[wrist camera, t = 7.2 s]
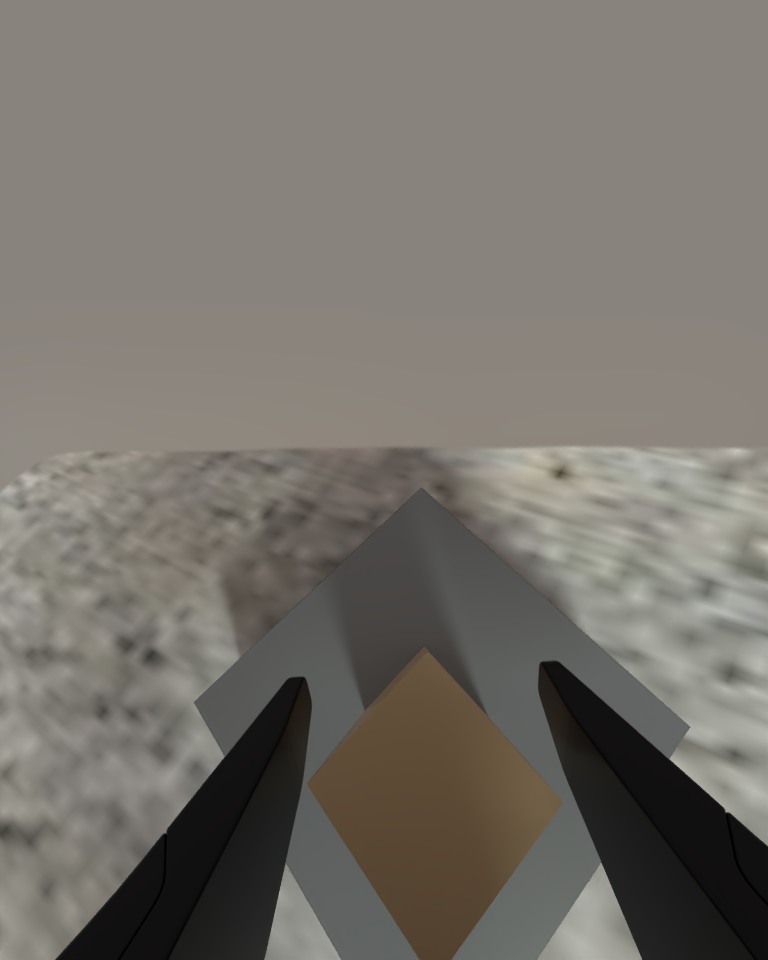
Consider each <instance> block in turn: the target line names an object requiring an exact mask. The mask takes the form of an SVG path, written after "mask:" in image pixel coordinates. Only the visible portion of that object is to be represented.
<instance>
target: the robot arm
mask: <svg viewBox="0 0 768 960" xmlns="http://www.w3.org/2000/svg"><path fill="white" fill-rule="evenodd" d="M538 692H539V696H540V700H541V703H542V706H543V709H544V712H545V715H546V719H547V722H548V725H549V728H550V731H551V734H552V738H553V741H554V744H555V747H556V750H557V753H558V756H559V760H560V763H561V766H562V769H563V771H564V774H565V777H566V779H567V782H568V784H569V787H570V789H571V791H572V794H573V796H574V798H575V801H576V803H577V806H578V808H579V810H580V813H581V815H582V817H583V820H584V822H585V825H586V827H587V829H588V832H589V834H590V836H591V839H592V841H593V844H594V846H595V848H596V851H597V853H598V855H599V858H600V860H601V863H602V865H603V867H604V870H605V872H606V874H607V877H608V879H609V882H610V884H611V886H612V889H613V891H614V893H615V896H616V898H617V901H618V903H619V905H620V908H621V910H622V912H623V915H624V917H625V920H626V922H627V924H628V927H629V929H630V931H631V934H632V936H633V939H634V941H635V943H636V946H637V948H638V950H639V953H640V955H641V958H642V960H768V846H767V845H766V844H765V843H764V842H762V841H761V840H760V839H759V838H758V837H757V836H755V835H754V834H753V833H752V832H751V831H750V830H749V829H747V828H746V827H745V826H744V825H743V824H742V823H741V822H740V821H738V820H737V819H736V818H735V817H734V816H733V815H732V814H731V813H729V812H727V813H726V812H725V809H724V807H722V806H721V805H720V804H719V803H718V802H717V801H716V800H715V799H713V798H712V797H711V796H710V795H709V794H708V793H707V792H706V791H704V790H703V789H702V788H701V787H700V786H699V785H698V784H697V783H695V782H694V781H693V780H692V779H691V778H690V777H689V776H688V775H686V774H685V773H684V772H683V771H682V770H681V769H680V768H679V767H677V766H676V765H675V764H674V763H673V762H672V761H671V760H670V759H668V758H667V757H666V756H665V755H664V754H663V753H662V752H661V751H659V750H658V749H657V748H656V747H655V746H654V745H653V744H652V743H650V742H649V741H648V740H647V739H646V738H645V737H644V736H643V735H641V734H640V733H639V732H638V731H637V730H636V729H635V728H634V727H632V726H631V725H630V724H629V723H628V722H627V721H626V720H625V719H623V718H622V717H621V716H620V715H619V714H618V713H617V712H615V711H614V710H613V709H612V708H611V707H610V706H609V705H608V704H606V703H605V702H604V701H603V700H602V699H601V698H600V697H599V696H597V695H596V694H595V693H594V692H593V691H592V690H591V689H590V688H588V687H587V686H586V685H585V684H584V683H583V682H582V681H581V680H579V679H578V678H577V677H576V676H575V675H574V674H573V673H572V672H570V671H569V670H568V669H567V668H566V667H565V666H564V665H563V664H561V663H560V662H559V661H556V660H552V661H541V662H540V664H539V674H538ZM311 713H312V699H311V695H310V691H309V687H308V683H307V680H306V678H305V677H303V676H299V677H290V678H288V679H287V680H286V681H285V682H284V684H283V685H282V686H281V687H280V689H279V690H278V691H277V692H276V694H275V695H274V696H273V697H272V699H271V700H270V701H269V702H268V704H267V705H266V706H265V707H264V709H263V710H262V711H261V712H260V714H259V715H258V716H257V717H256V719H255V720H254V721H253V722H252V724H251V725H250V726H249V727H248V729H247V730H246V731H245V732H244V734H243V735H242V736H241V737H240V739H239V740H238V741H237V742H236V744H235V745H234V746H233V747H232V749H231V750H230V751H229V752H228V754H227V755H226V756H225V757H224V759H223V760H222V761H221V762H220V764H219V765H218V766H217V767H216V769H215V770H214V771H213V772H212V774H211V775H210V776H209V777H208V779H207V780H206V781H205V782H204V784H203V785H202V786H201V787H200V789H199V790H198V791H197V792H196V794H195V795H194V796H193V797H192V799H191V800H190V801H189V802H188V804H187V805H186V806H185V807H184V809H183V810H182V811H181V812H180V814H179V815H178V816H177V817H176V819H175V820H174V821H173V822H172V824H171V825H170V826H169V827H168V829H167V832H166V833H164V834H163V835H162V836H161V837H160V838H159V840H158V841H157V842H156V843H155V845H154V846H153V847H152V848H151V850H150V851H149V852H148V853H147V855H146V856H145V857H144V858H143V859H142V861H141V862H140V863H139V864H138V866H137V867H136V868H135V869H134V870H133V872H132V873H131V874H130V875H129V876H128V878H127V879H126V880H125V881H124V882H123V884H122V885H121V886H120V887H119V888H118V890H117V891H116V892H115V893H114V894H113V895H112V897H111V898H110V899H109V900H108V901H107V902H106V903H105V905H104V906H103V907H102V908H101V909H100V910H99V911H98V912H97V914H96V915H95V916H94V917H93V918H92V919H91V920H90V922H89V923H88V924H87V925H86V926H85V927H84V928H83V930H82V931H81V932H80V933H79V934H78V935H77V936H76V937H75V938H74V940H73V941H72V942H71V943H70V944H69V945H68V946H67V947H66V948H65V950H64V951H63V952H62V953H61V954H60V955H59V956H58V957H57V958H56V959H55V960H264V959H265V955H266V950H267V945H268V941H269V936H270V932H271V927H272V922H273V918H274V913H275V909H276V904H277V900H278V895H279V890H280V886H281V881H282V877H283V872H284V867H285V863H286V858H287V854H288V849H289V845H290V840H291V835H292V831H293V826H294V822H295V817H296V812H297V808H298V803H299V799H300V794H301V789H302V784H303V777H304V769H305V761H306V753H307V745H308V737H309V729H310V721H311Z"/></svg>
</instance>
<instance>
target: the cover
mask: <svg viewBox="0 0 768 960" xmlns="http://www.w3.org/2000/svg"><path fill="white" fill-rule="evenodd" d="M552 660H556V661H559V662H560V663H561V664H563V665H564V666H565V667H566V668H567V669H568V670H569V671H570V672H572V673H573V674H574V675H575V676H576V677H577V678H578V679H579V680H581V681H582V682H583V683H584V684H585V685H586V686H587V687H588V688H590V689H591V690H592V691H593V692H594V693H595V694H596V695H597V696H599V697H600V698H601V699H602V700H603V701H604V702H605V703H606V704H608V705H609V706H610V707H611V708H612V709H613V710H614V711H615V712H617V713H618V714H619V715H620V716H621V717H622V718H623V719H625V720H626V721H627V722H628V723H629V724H630V725H631V726H632V727H634V728H635V729H636V730H637V731H638V732H639V733H640V734H641V735H643V736H644V737H645V738H646V739H647V740H648V741H649V742H650V743H652V744H653V745H654V746H655V747H656V748H657V749H658V750H659V751H661V752H662V753H663V754H664V755H665V756H666V757H667V758H668V759H669V758H670V757H671V755H672V754H673V752H674V751H675V749H676V748H677V746H678V745H679V743H680V742H681V740H682V739H683V737H684V736H685V734H686V733H687V731H688V730H689V728H690V726H689V725H687V724H686V723H685V722H684V721H683V720H682V719H681V718H680V717H678V716H677V715H676V714H675V713H674V712H673V711H672V710H671V709H669V708H668V707H667V706H666V705H665V704H664V703H663V702H662V701H661V700H659V699H658V698H657V697H656V696H655V695H654V694H653V693H652V692H650V691H649V690H648V689H647V688H646V687H645V686H644V685H643V684H641V683H640V682H639V681H638V680H637V679H636V678H635V677H634V676H632V675H631V674H630V673H629V672H628V671H627V670H626V669H625V668H623V667H622V666H621V665H620V664H619V663H618V662H617V661H616V660H614V659H613V658H612V657H611V656H610V655H609V654H608V653H607V652H605V651H604V650H603V649H602V648H601V647H600V646H599V645H598V644H597V643H595V642H594V641H593V640H592V639H591V638H590V637H589V636H588V635H586V634H585V633H584V632H583V631H582V630H581V629H580V628H579V627H577V626H576V625H575V624H574V623H573V622H572V621H571V620H570V619H568V618H567V617H566V616H565V615H564V614H563V613H562V612H561V611H559V610H558V609H557V608H556V607H555V606H554V605H553V604H552V603H550V602H549V601H548V600H547V599H546V598H545V597H544V596H543V595H541V594H540V593H539V592H538V591H537V590H536V589H535V588H534V587H533V586H531V585H530V584H529V583H528V582H527V581H526V580H525V579H524V578H522V577H521V576H520V575H519V574H518V573H517V572H516V571H515V570H513V569H512V568H511V567H510V566H509V565H508V564H507V563H506V562H504V561H503V560H502V559H501V558H500V557H499V556H498V555H497V554H495V553H494V552H493V551H492V550H491V549H490V548H489V547H488V546H486V545H485V544H484V543H483V542H482V541H481V540H480V539H479V538H477V537H476V536H475V535H474V534H473V533H472V532H471V531H470V530H469V529H467V528H466V527H465V526H464V525H463V524H462V523H461V522H460V521H458V520H457V519H456V518H455V517H454V516H453V515H452V514H451V513H449V512H448V511H447V510H446V509H445V508H444V507H443V506H442V505H440V504H439V503H438V502H437V501H436V500H435V499H434V498H433V497H431V496H430V495H429V494H428V493H427V492H426V491H425V490H424V489H422V488H421V489H420V490H418V491H417V492H416V493H415V494H414V495H413V496H412V497H411V498H410V499H409V500H408V501H407V502H406V503H405V504H404V505H403V506H402V507H400V508H399V509H398V510H397V511H396V512H395V513H394V514H393V515H392V516H391V517H390V518H389V519H388V520H387V521H386V522H385V523H383V524H382V525H381V526H380V527H379V528H378V529H377V530H376V531H375V532H374V533H373V534H372V535H371V536H370V537H369V538H368V539H366V540H365V541H364V542H363V543H362V544H361V545H360V546H359V547H358V548H357V549H356V550H355V551H354V552H353V553H352V554H351V555H350V556H348V557H347V558H346V559H345V560H344V561H343V562H342V563H341V564H340V565H339V566H338V567H337V568H336V569H335V570H334V571H333V572H331V573H330V574H329V575H328V576H327V577H326V578H325V579H324V580H323V581H322V582H321V583H320V584H319V585H318V586H317V587H316V588H314V589H313V590H312V591H311V592H310V593H309V594H308V595H307V596H306V597H305V598H304V599H303V600H302V601H301V602H300V603H299V604H298V605H296V606H295V607H294V608H293V609H292V610H291V611H290V612H289V613H288V614H287V615H286V616H285V617H284V618H283V619H282V620H281V621H279V622H278V623H277V624H276V625H275V626H274V627H273V628H272V629H271V630H270V631H269V632H268V633H267V634H266V635H265V636H264V637H262V638H261V639H260V640H259V641H258V642H257V643H256V644H255V645H254V646H253V647H252V648H251V649H250V650H249V651H248V652H247V653H246V654H244V655H243V656H242V657H241V658H240V659H239V660H238V661H237V662H236V663H235V664H234V665H233V666H232V667H231V668H230V669H229V670H227V671H226V672H225V673H224V674H223V675H222V676H221V677H220V678H219V679H218V680H217V681H216V682H215V683H214V684H213V685H212V686H210V687H209V688H208V689H207V690H206V691H205V692H204V693H203V694H202V695H201V696H200V697H199V698H198V699H197V700H196V701H195V702H194V703H195V705H196V707H197V709H198V710H199V712H200V714H201V716H202V717H203V719H204V721H205V723H206V724H207V726H208V728H209V730H210V731H211V733H212V735H213V737H214V738H215V740H216V742H217V744H218V745H219V747H220V749H221V751H222V752H223V754H224V756H226V755H227V754H228V752H229V751H230V750H231V749H232V747H233V746H234V745H235V744H236V742H237V741H238V740H239V739H240V737H241V736H242V735H243V734H244V732H245V731H246V730H247V729H248V727H249V726H250V725H251V724H252V722H253V721H254V720H255V719H256V717H257V716H258V715H259V714H260V712H261V711H262V710H263V709H264V707H265V706H266V705H267V704H268V702H269V701H270V700H271V699H272V697H273V696H274V695H275V694H276V692H277V691H278V690H279V689H280V687H281V686H282V685H283V684H284V682H285V681H286V680H287V679H288V678H290V677H299V676H303V677H305V678H306V680H307V683H308V687H309V691H310V695H311V699H312V713H311V721H310V729H309V737H308V745H307V753H306V761H305V769H304V777H303V784H302V789H301V794H300V799H299V803H298V808H297V812H296V817H295V822H294V826H293V831H292V835H291V840H290V845H289V849H288V854H287V858H286V864H287V866H288V867H289V869H290V871H291V873H292V874H293V876H294V878H295V880H296V881H297V883H298V885H299V887H300V888H301V890H302V892H303V894H304V895H305V897H306V899H307V901H308V902H309V904H310V906H311V907H312V909H313V911H314V913H315V914H316V916H317V918H318V920H319V921H320V923H321V925H322V927H323V928H324V930H325V932H326V934H327V935H328V937H329V939H330V941H331V942H332V944H333V946H334V948H335V949H336V951H337V953H338V955H339V956H340V958H341V960H537V959H538V957H539V956H540V954H541V953H542V951H543V950H544V948H545V947H546V945H547V944H548V942H549V941H550V939H551V938H552V936H553V935H554V933H555V932H556V930H557V928H558V927H559V925H560V924H561V922H562V921H563V919H564V918H565V916H566V915H567V913H568V912H569V910H570V909H571V907H572V906H573V904H574V903H575V901H576V900H577V898H578V897H579V895H580V894H581V892H582V891H583V889H584V888H585V886H586V884H587V883H588V881H589V880H590V878H591V877H592V875H593V874H594V872H595V871H596V869H597V868H598V866H599V865H600V863H601V860H600V858H599V855H598V853H597V851H596V848H595V846H594V844H593V841H592V839H591V836H590V834H589V832H588V829H587V827H586V825H585V822H584V820H583V817H582V815H581V813H580V810H579V808H578V806H577V803H576V801H575V798H574V796H573V794H572V791H571V789H570V787H569V784H568V782H567V779H566V777H565V774H564V771H563V769H562V766H561V763H560V760H559V756H558V753H557V750H556V747H555V744H554V741H553V738H552V734H551V731H550V728H549V725H548V722H547V719H546V715H545V712H544V709H543V706H542V703H541V700H540V696H539V692H538V674H539V664H540V662H541V661H552Z"/></svg>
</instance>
